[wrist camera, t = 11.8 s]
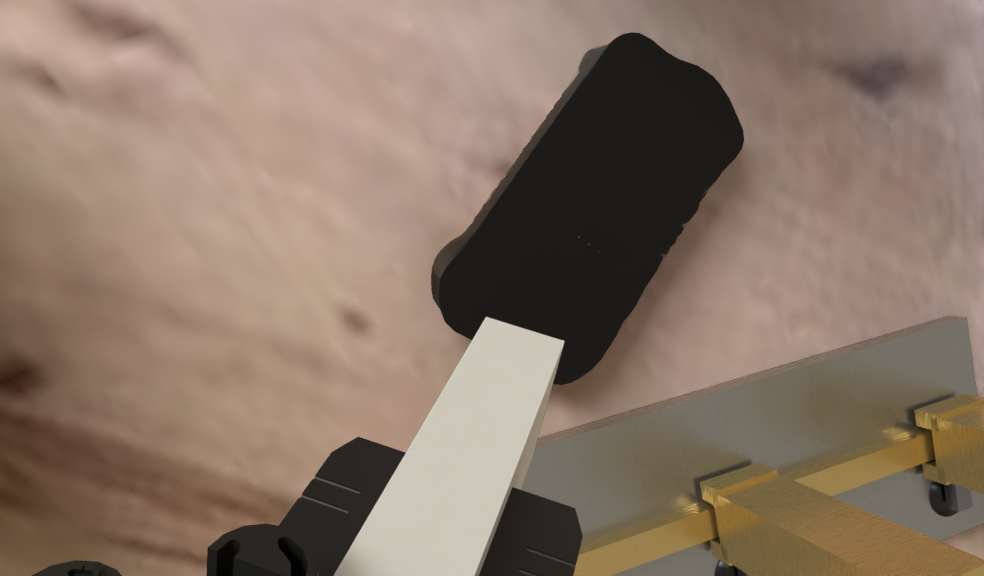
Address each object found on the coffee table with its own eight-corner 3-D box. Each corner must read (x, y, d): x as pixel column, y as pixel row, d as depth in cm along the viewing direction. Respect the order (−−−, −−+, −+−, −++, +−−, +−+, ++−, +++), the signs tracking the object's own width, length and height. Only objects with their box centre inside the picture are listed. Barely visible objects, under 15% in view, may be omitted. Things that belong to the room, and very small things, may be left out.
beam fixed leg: (509, 542, 39) (673, 717, 24) (958, 392, 46) (1283, 458, 32) (534, 662, 39) (708, 900, 25) (973, 494, 47) (1296, 602, 33)
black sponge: (542, 393, 40) (572, 407, 37) (405, 292, 38) (423, 296, 35) (719, 132, 43) (763, 122, 39) (600, 22, 40) (636, 1, 37)
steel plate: (455, 463, 39) (462, 470, 38) (949, 315, 47) (967, 317, 46) (504, 697, 40) (513, 711, 39) (976, 512, 49) (995, 519, 48)
